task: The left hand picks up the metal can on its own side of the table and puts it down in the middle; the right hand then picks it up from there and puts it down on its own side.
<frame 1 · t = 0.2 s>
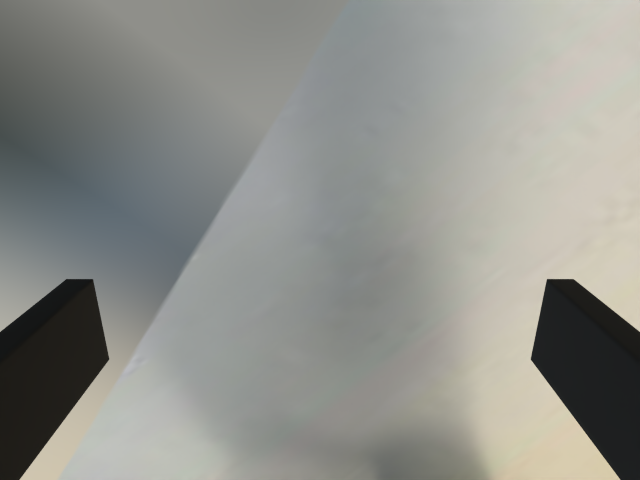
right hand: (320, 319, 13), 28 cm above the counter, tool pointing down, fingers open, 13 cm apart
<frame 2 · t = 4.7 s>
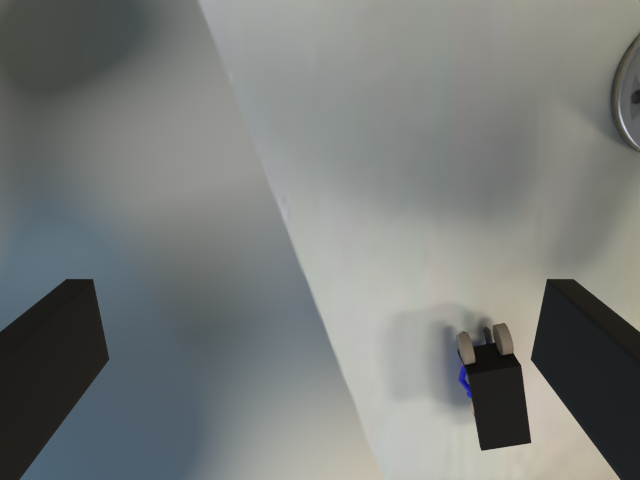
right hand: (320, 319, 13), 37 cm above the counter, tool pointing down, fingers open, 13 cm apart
figurine character: (479, 363, 57), on the counter
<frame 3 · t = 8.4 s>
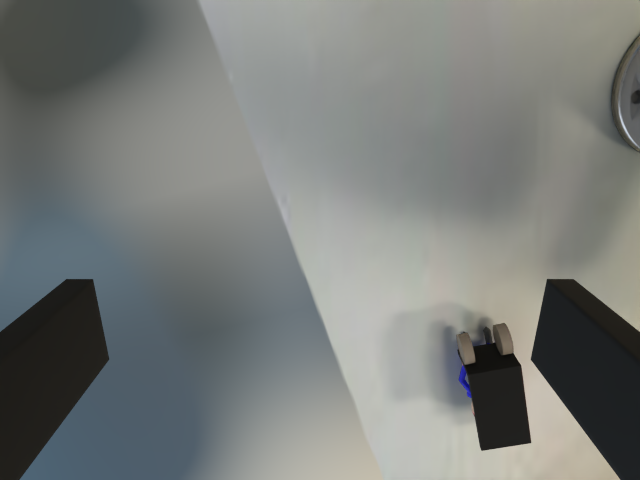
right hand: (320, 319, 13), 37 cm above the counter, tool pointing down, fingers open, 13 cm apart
figurine character: (479, 363, 57), on the counter
when the left hand's fingers open (5 cm above the counter, at t = 11.9 s): can drops 1 cm, on the counter.
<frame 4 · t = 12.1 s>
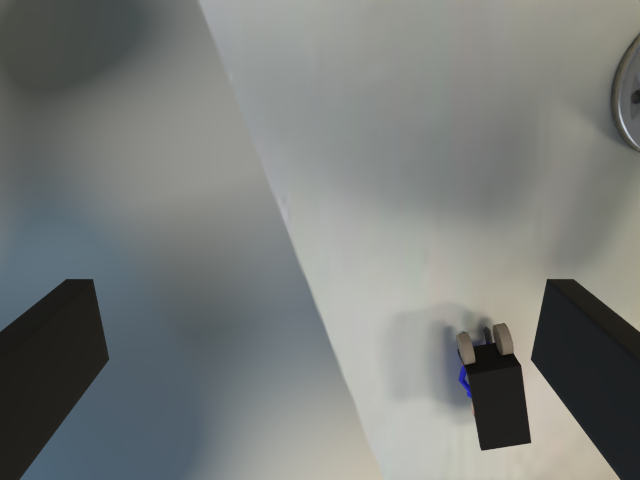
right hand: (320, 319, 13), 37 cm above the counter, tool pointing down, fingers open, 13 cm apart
figurine character: (479, 363, 57), on the counter
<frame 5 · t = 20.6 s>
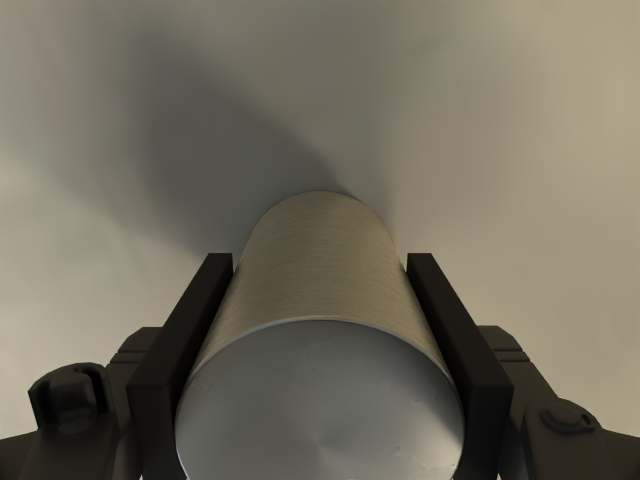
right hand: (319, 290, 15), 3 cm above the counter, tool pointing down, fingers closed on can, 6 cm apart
can: (320, 262, 17), on the counter, touching right hand
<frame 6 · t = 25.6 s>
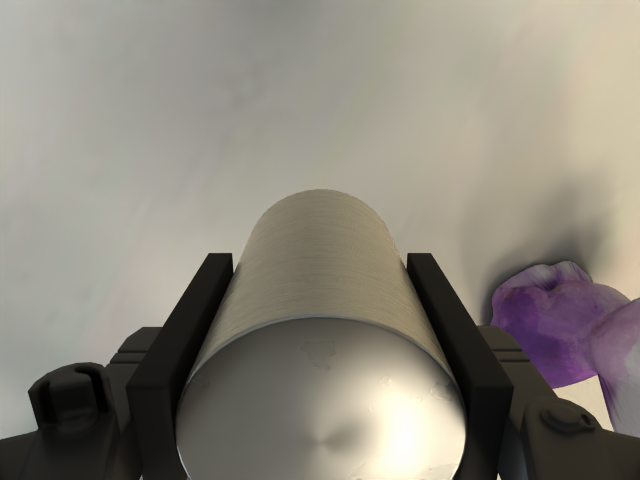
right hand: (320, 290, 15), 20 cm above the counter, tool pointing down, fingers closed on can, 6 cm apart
figurine: (535, 299, 37), on the counter
can: (320, 260, 17), point 18 cm above the counter, touching right hand
when the right hand's fingers open (4 cm above the counter, at t = 30.8 s): can drops 1 cm, on the counter.
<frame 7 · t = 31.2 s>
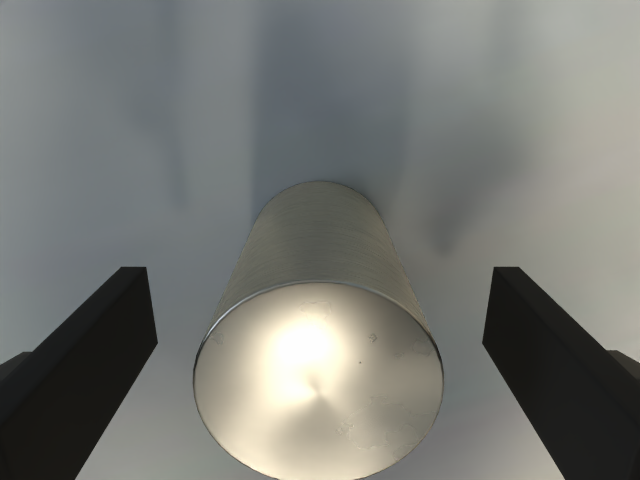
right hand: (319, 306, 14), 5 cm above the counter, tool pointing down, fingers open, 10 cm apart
can: (319, 247, 18), on the counter
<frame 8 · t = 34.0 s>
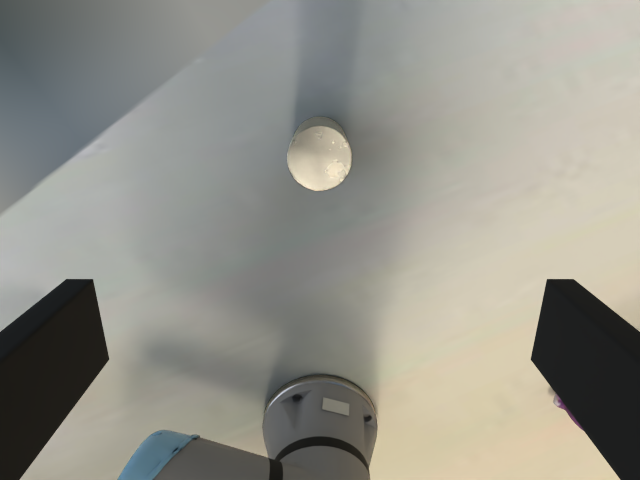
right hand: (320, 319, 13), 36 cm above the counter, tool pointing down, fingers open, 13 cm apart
can: (319, 144, 46), on the counter
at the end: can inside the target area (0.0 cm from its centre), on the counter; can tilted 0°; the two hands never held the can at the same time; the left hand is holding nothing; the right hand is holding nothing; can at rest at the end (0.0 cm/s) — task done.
